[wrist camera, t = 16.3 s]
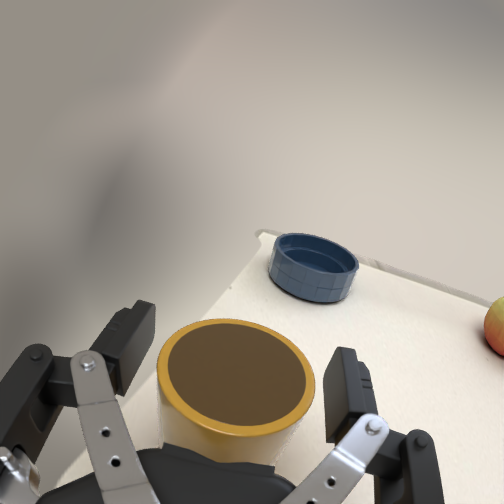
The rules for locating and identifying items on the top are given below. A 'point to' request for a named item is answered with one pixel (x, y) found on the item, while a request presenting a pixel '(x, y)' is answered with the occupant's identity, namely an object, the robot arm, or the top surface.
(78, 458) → the top surface
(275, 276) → the bowl
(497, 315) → the apple
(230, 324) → the cup
